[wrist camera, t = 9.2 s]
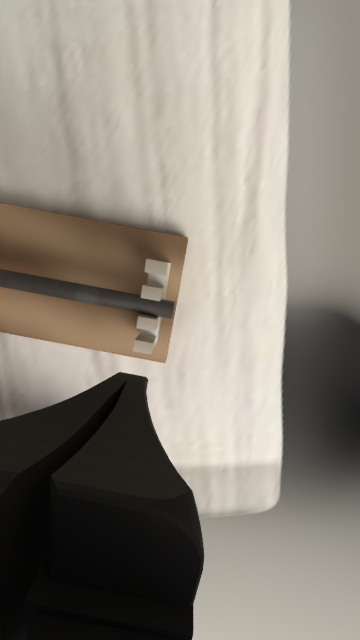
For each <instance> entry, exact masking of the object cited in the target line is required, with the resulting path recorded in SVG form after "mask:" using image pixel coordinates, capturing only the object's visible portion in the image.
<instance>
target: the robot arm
mask: <svg viewBox="0 0 360 640" xmlns="http://www.w3.org/2000/svg"><path fill="white" fill-rule="evenodd" d="M147 383H148V379H147V378H146V377H143V376H138V375H133V374H127V373H122V372H119V373H117V374H115V375H113V376H112V377H110V378H108V379H107V380H105V381H103V382H101V383H99V384H98V385H96V386H94V387H92V388H90V389H88V390H86V391H84V392H82V393H80V394H78V395H76V396H74V397H72V398H69V399H67V400H65V401H62V402H60V403H57V404H55V405H52V406H49V407H47V408H44V409H41V410H37V411H34V412H31V413H27V414H24V415H21V416H17V417H14V418H10V419H6V420H2V421H0V640H192V636H193V603H194V599H195V596H196V592H197V588H198V585H199V582H200V578H201V575H202V571H203V563H204V548H203V539H202V533H201V526H200V521H199V516H198V511H197V507H196V503H195V499H194V495H193V492H192V490H191V489H190V487H189V486H188V485H187V484H186V482H185V481H184V480H183V478H182V477H181V476H180V475H179V473H178V472H177V471H176V469H175V467H174V466H173V464H172V463H171V461H170V460H169V458H168V456H167V454H166V452H165V450H164V448H163V447H162V445H161V443H160V441H159V438H158V436H157V434H156V431H155V429H154V426H153V423H152V420H151V416H150V412H149V408H148V403H147V396H146V389H147Z"/></svg>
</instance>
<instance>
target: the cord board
mask: <svg viewBox="0 0 360 640" xmlns="http://www.w3.org/2000/svg"><path fill="white" fill-rule="evenodd" d="M187 243H188V238H187V237H182V236H176V235H171V234H165V233H160V232H155V231H149V230H144V229H139V228H133V227H128V226H122V225H117V224H112V223H106V222H101V221H96V220H90V219H85V218H80V217H74V216H69V215H63V214H58V213H53V212H47V211H42V210H37V209H31V208H26V207H20V206H15V205H10V204H4V203H0V332H4V333H9V334H14V335H19V336H25V337H30V338H35V339H40V340H46V341H51V342H56V343H62V344H67V345H72V346H77V347H83V348H88V349H93V350H99V351H104V352H109V353H114V354H120V355H125V356H130V357H135V358H141V359H146V360H151V361H157V362H162V363H165V362H166V358H167V354H168V348H169V343H170V337H171V332H172V326H173V321H174V315H175V309H176V304H177V298H178V293H179V287H180V282H181V276H182V271H183V265H184V260H185V254H186V248H187Z"/></svg>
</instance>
